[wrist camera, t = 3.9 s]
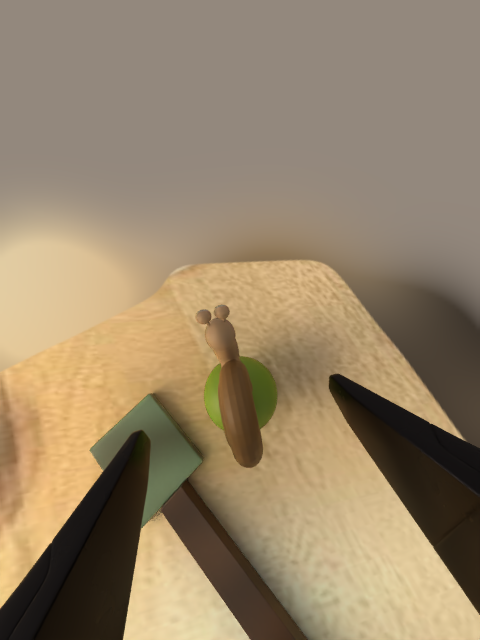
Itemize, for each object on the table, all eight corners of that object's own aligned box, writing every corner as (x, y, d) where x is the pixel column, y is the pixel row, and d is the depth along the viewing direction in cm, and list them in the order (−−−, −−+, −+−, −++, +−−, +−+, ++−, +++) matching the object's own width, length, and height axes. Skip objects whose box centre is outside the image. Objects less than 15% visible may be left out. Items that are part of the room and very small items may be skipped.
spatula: (357, 648, 12) (369, 675, 11) (297, 750, 11) (304, 792, 10) (152, 392, 17) (145, 394, 16) (95, 446, 16) (83, 452, 15)
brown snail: (258, 342, 18) (285, 284, 7) (279, 414, 16) (367, 502, 5) (202, 357, 18) (130, 324, 6) (218, 432, 16) (157, 574, 5)
